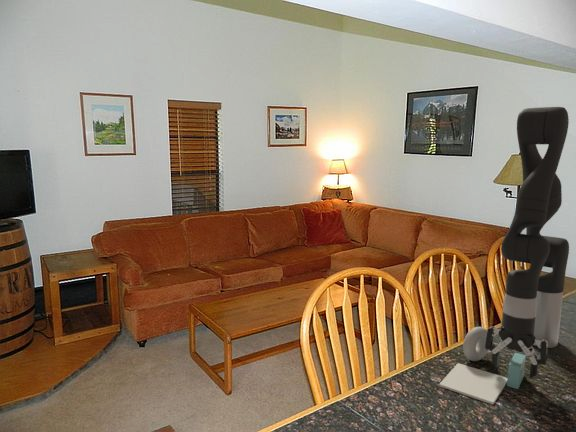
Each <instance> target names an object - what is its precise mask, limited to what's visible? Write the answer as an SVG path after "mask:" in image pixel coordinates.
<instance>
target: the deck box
mask: <svg viewBox="0 0 576 432" xmlns="http://www.w3.org/2000/svg"><path fill="white" fill-rule="evenodd" d="M526 358H527V356H526V354H522V353H520V352H519V353H518V352H514V354H513V355H512V358H511V359H510V361H509V363H508V369H507V378H508V379H507V383H506V387H509V388H513V389H516V390H519V389H520V386H521V384H522V382H523V380H524V377H525V371H526V370H525V369H526V360H527V359H526Z"/></svg>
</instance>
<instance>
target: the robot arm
mask: <svg viewBox="0 0 576 432" xmlns="http://www.w3.org/2000/svg"><path fill="white" fill-rule="evenodd" d="M569 120H570V119H569V112H568V111H567V109H566V108H565V107H564V106H563V107H562V106H546V107H545V106H544V107H542V106H541V107H529V108H523V109H521V110H520V112H519V113H518V115H517V120H516V136H517V142H518V149H519V154H520V155H519V156H520V160H521V168H522V184H521V185H520V188H519V190H518V192H517V198H516V205H515V210H514V215H513V219H512V221H511V224H510V226H509V228H508V229H507V232H506V234H505V236H504V238H503V240H502V243H501V246H500V249H501V250H500V251H501V254H502V256H503V258H504V259H506V260H507V261H511V262H519V263H525V264H530V266H529V268H526V269H513V270H512V269H511V270H510V271H509V272H508V273H507V275H506V283H505V292H504V293H505V294H504V298H503V304H502V316H501V325H500V329H499V328H497V327H495V326H494V325H490V326H489V327H488V329H487V337H486V344H485V348H486V349H487V350H488V351H490V352H491V354H492V355H491V364H492V365H493V367H494V368H495V369H497V368H498V367H499V364H500V357H501V356H500V355H501V352H500V351H501V350H503V349H504V348H505V347H506V348H507V349H508V350H511V351H512V350H513V351H514V350H515V351H516V352H517V353H518V352H519V353H522V352H524V355H526V358H528V359H529V360H530V371H529V378H531V379H533V378H535V377H536V376H537V374H538V373H539V372H538V371H539V365H542V366H544V365H546V364H547V361H548V358H549V357H548V355H549V349H550V348H551V349H553V348H556V347H558V345H559V344H558V343H559V336H560V326H561V325H560V324H561V319H562V318H561V317H562V307H563V298H564V297H563V296H564V291H565V290H564V287H565V282H566V281H565V279H566V271H567V265H568V259H569V255H570V244H569V241H568V240H567V238H563V237H556V236H547V235H542V234H541V230H542V229H543V227H545V225H546V224H547V223H548V222H549V221H550V220H551V219H552V218H553V217H554V216H555V215H556V214H557V212H558V211H559V209H560V208H561V206H562V203H563V202H562V201H563V200H562V199H563V195H562V183H561V180H560V178H559V177H558V174H557V169H558V167H559V164H560V160H561V156H562V153H563V149H564V146H565V142H566V140H567V135H568V131H569V123H570V121H569ZM537 145H548V146H547V148H546V152H545V154H544V157H542V156H541V154H540V152H539V150H538V147H537ZM524 230H526V231H525V232H526V233H522V232H523V231H524ZM543 267H544V268H550V269H551V268H552V271H550V272H547V273H543V274H541V273H542V270H543ZM497 335H498V336H499V338H500V339H501V340H500V342H499V343H498V344H497V345H494V337H496V336H497ZM533 346H535V347H538V349H540V352H539V353H540V357H538V354H537V353H536V351H535V349H534V347H533Z"/></svg>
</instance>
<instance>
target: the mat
mask: <svg viewBox="0 0 576 432" xmlns="http://www.w3.org/2000/svg"><path fill="white" fill-rule="evenodd" d="M507 379H508V377H506V376H502V375H499V374H494V373H492V372H488V371H485V370H483V369H478V368H475V367H471V366H469V365H466V364H461V363H459V362H458V363H456V365H455V366H453V368H452V369H451V370H450V371H449V373H448V374H447V375H446V376H445V377H444V378H443V379H442V381H441V382H440V383H439V385H438V386H439V387H441V388H443V389H447V390H449V391H452V392H456V393H458V394H461V395H464V396H466V397H469V398H473V399H475V400H479V401H481V402H484V403H487V404H490V405H494V404H495V403H496V401H497V399H498V398H499V396H500V394H501V393H502V391H503V390H504V388H505V387H506V386H507Z"/></svg>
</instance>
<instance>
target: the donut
mask: <svg viewBox="0 0 576 432" xmlns="http://www.w3.org/2000/svg"><path fill="white" fill-rule="evenodd" d="M487 331H488V329H486V328H484V327H483V326H474V327H473V328H471V329H470V330H469V331H468V332H467V333H466V335H465V337H464V339H463V344H462V351H463V355H464V356H465V358H466V359H467V360H469V361H472V362H479V361H480V360H482V359H484V358H485V356H487V353H488V352H489V350H487V349H486V348H485V344H486V337H487Z"/></svg>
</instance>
